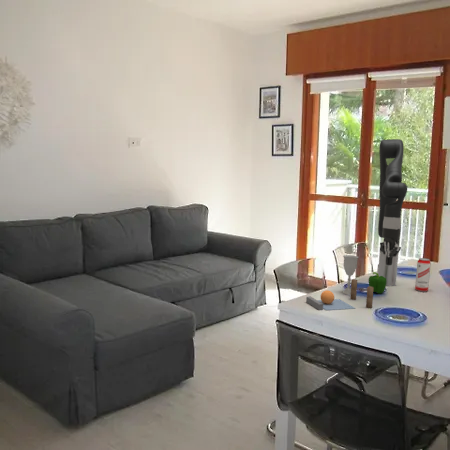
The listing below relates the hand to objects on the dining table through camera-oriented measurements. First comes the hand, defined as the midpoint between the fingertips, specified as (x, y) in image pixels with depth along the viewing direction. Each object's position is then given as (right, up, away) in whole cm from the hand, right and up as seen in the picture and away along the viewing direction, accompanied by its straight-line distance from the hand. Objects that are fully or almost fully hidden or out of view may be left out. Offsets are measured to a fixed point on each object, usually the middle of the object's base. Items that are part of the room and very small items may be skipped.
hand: (388, 265), depth 225 cm
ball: (-29, -14, -4) cm, 32 cm away
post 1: (-15, -16, +5) cm, 22 cm away
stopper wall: (-35, -17, -8) cm, 40 cm away
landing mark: (-26, -17, -5) cm, 32 cm away
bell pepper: (0, -15, +18) cm, 23 cm away
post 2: (-11, -18, -8) cm, 22 cm away
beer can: (+24, -15, +24) cm, 37 cm away
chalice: (-15, -15, +15) cm, 26 cm away
